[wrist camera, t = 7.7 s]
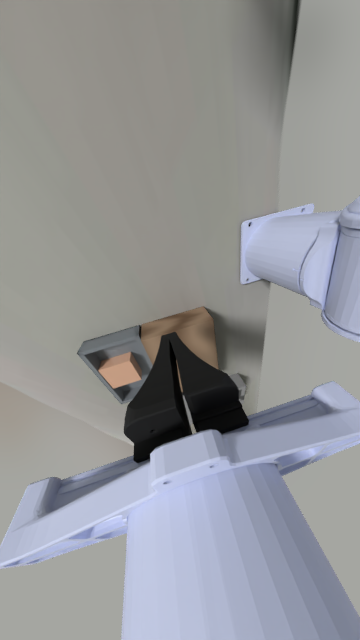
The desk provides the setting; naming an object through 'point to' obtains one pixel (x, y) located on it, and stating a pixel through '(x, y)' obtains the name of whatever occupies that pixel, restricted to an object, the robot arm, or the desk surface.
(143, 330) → the tan slab
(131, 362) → the tile
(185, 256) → the desk surface
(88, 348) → the bin
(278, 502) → the robot arm
